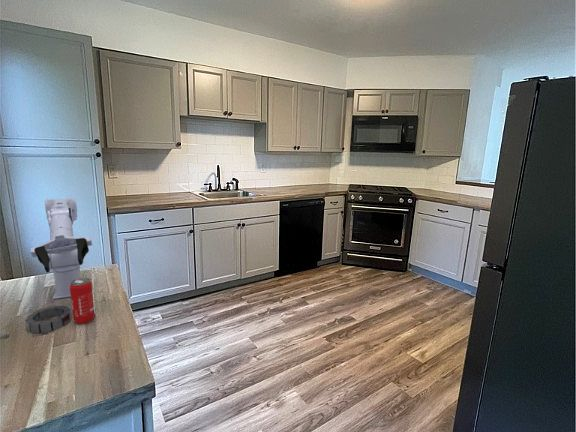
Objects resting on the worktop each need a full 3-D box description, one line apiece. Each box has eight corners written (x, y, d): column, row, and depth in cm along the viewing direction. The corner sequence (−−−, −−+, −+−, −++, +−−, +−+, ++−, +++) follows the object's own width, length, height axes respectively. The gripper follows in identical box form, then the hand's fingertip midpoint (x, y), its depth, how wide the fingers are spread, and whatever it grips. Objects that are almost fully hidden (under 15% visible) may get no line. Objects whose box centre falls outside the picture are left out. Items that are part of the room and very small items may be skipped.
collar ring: (31, 317, 91) (30, 309, 91) (73, 310, 96) (72, 303, 96) (22, 336, 83) (21, 328, 82) (68, 327, 87) (67, 319, 87)
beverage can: (85, 325, 89) (80, 286, 86) (69, 323, 90) (64, 284, 87) (99, 316, 94) (95, 278, 91) (84, 313, 95) (80, 276, 92)
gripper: (27, 230, 90) (26, 262, 81) (86, 220, 97) (91, 249, 88) (35, 248, 94) (34, 280, 85) (91, 237, 101) (96, 266, 93)
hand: (63, 266), depth 87 cm, fingers open, 7 cm apart
